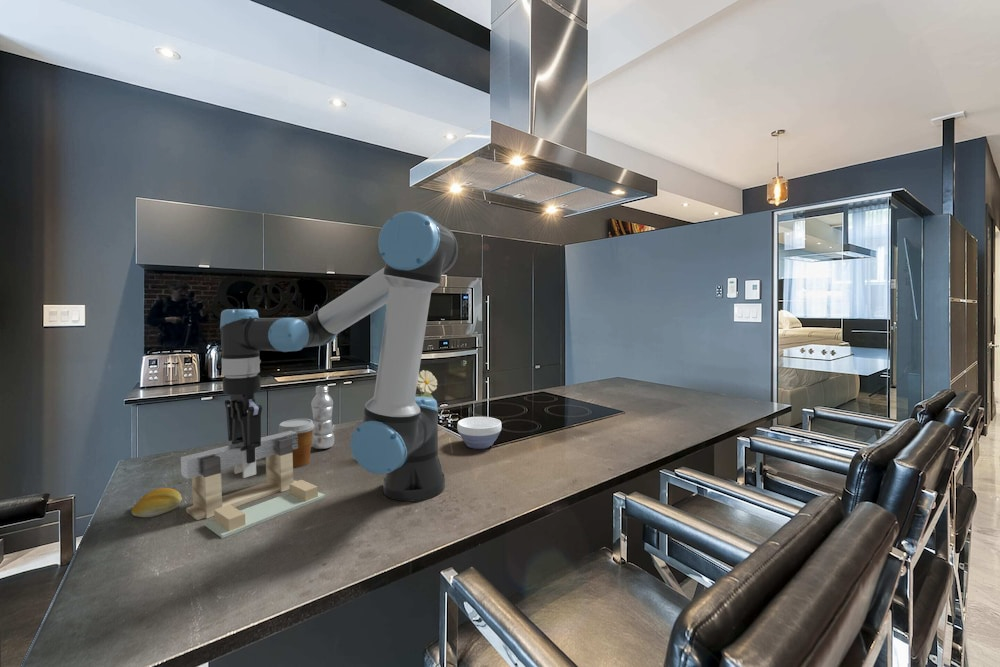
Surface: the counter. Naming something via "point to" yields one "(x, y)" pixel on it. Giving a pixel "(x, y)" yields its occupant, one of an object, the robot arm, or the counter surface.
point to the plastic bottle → (322, 418)
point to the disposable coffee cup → (300, 439)
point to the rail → (234, 454)
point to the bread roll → (157, 502)
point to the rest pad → (262, 509)
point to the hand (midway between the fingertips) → (245, 473)
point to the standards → (210, 489)
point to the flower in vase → (426, 383)
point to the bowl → (479, 431)
